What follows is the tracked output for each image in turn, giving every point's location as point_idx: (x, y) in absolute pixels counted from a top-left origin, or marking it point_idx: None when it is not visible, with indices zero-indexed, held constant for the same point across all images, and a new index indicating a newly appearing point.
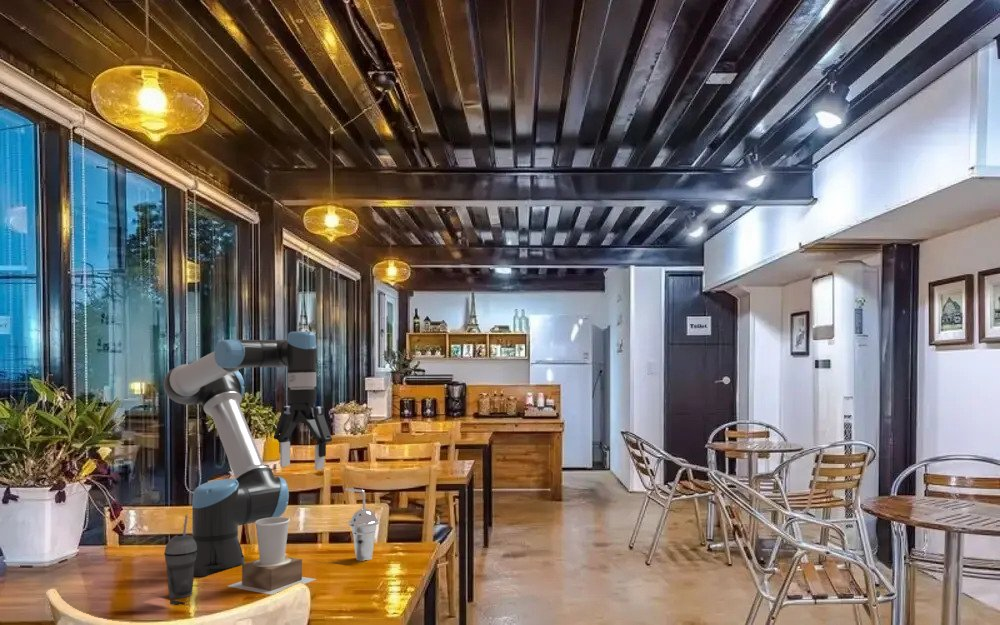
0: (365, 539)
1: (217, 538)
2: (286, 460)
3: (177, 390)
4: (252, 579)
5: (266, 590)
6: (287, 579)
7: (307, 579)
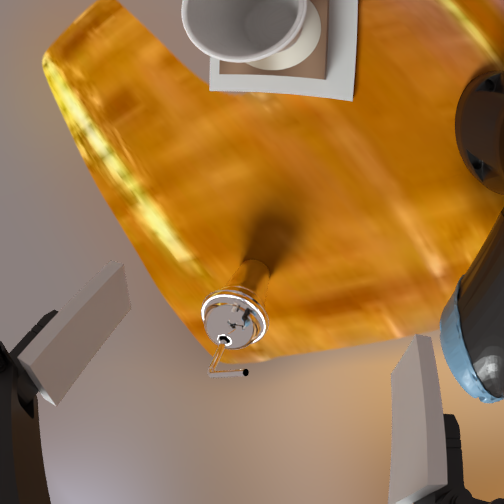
0: (227, 283)
1: None
2: (403, 384)
3: None
4: None
5: None
6: None
7: (225, 81)
